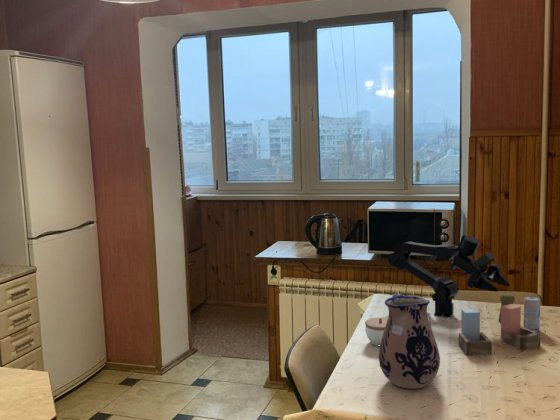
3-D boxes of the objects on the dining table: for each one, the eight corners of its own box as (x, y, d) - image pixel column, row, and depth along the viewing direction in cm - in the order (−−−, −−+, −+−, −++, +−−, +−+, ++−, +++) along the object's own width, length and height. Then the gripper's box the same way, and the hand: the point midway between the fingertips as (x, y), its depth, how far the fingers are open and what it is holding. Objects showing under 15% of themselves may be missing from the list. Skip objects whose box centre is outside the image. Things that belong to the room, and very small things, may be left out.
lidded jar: (359, 343, 196) (358, 317, 195) (378, 335, 203) (378, 311, 201) (382, 351, 188) (382, 324, 187) (402, 343, 195) (402, 317, 193)
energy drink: (539, 328, 205) (540, 297, 203) (539, 332, 200) (540, 301, 198) (523, 326, 207) (524, 295, 205) (523, 331, 202) (524, 299, 200)
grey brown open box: (458, 345, 191) (458, 332, 190) (482, 344, 190) (482, 332, 190) (466, 355, 182) (466, 342, 181) (491, 354, 182) (491, 341, 181)
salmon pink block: (500, 338, 194) (501, 306, 193) (510, 336, 197) (511, 303, 195) (509, 342, 191) (510, 309, 189) (520, 339, 193) (520, 306, 191)
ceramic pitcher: (396, 400, 153) (396, 313, 149) (364, 370, 173) (363, 293, 169) (451, 390, 157) (452, 306, 154) (414, 362, 177) (413, 287, 174)
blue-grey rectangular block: (461, 342, 193) (461, 309, 191) (475, 341, 192) (476, 308, 191) (464, 346, 189) (465, 312, 187) (479, 346, 188) (480, 312, 187)
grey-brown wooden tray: (501, 342, 192) (502, 329, 191) (518, 338, 196) (518, 325, 195) (523, 350, 184) (523, 337, 183) (540, 346, 187) (540, 333, 187)
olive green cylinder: (517, 324, 210) (518, 296, 208) (501, 324, 210) (502, 296, 208) (511, 318, 216) (512, 291, 214) (496, 319, 216) (496, 292, 214)
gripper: (464, 251, 203) (500, 275, 194) (488, 244, 216) (524, 265, 206) (452, 276, 208) (488, 300, 199) (477, 267, 221) (511, 289, 211)
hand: (503, 288), depth 203 cm, fingers open, 9 cm apart
